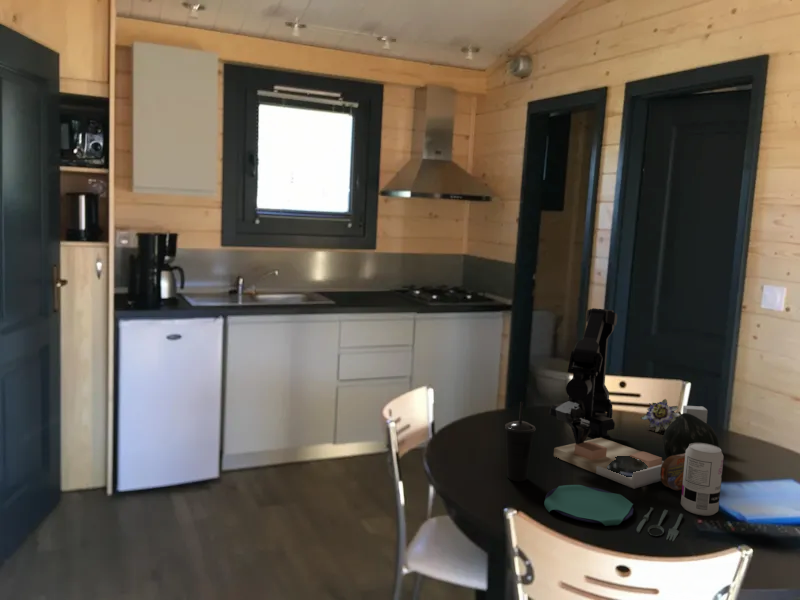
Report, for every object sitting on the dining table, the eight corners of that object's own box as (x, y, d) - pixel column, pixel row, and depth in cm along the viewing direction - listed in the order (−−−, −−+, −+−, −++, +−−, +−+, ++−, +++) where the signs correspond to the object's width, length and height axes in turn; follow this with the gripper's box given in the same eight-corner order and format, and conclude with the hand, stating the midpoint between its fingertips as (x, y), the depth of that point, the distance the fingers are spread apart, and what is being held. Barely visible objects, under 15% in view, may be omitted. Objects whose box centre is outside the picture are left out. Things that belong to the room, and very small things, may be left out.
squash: (729, 442, 203) (694, 398, 205) (728, 459, 190) (691, 413, 192) (686, 466, 209) (653, 424, 211) (682, 485, 196) (647, 440, 198)
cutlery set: (560, 486, 179) (561, 477, 179) (686, 518, 164) (687, 508, 164) (532, 514, 162) (533, 504, 162) (670, 552, 147) (672, 542, 147)
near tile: (574, 453, 197) (574, 444, 196) (588, 450, 200) (589, 441, 200) (591, 460, 192) (592, 451, 192) (606, 456, 195) (606, 447, 195)
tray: (596, 473, 189) (597, 458, 188) (643, 460, 200) (644, 447, 200) (634, 488, 179) (635, 473, 179) (681, 474, 191) (682, 460, 190)
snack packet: (666, 492, 178) (669, 459, 177) (656, 488, 181) (659, 455, 180) (707, 484, 185) (710, 452, 184) (697, 480, 188) (700, 448, 186)
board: (553, 456, 201) (554, 447, 201) (600, 445, 213) (601, 437, 212) (596, 473, 189) (596, 464, 189) (643, 460, 200) (643, 452, 200)
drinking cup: (534, 475, 186) (539, 400, 183) (529, 485, 179) (534, 407, 176) (505, 470, 188) (509, 396, 186) (499, 480, 181) (503, 403, 179)
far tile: (628, 463, 196) (629, 454, 196) (642, 460, 199) (643, 451, 199) (647, 470, 191) (648, 461, 191) (661, 466, 195) (662, 457, 194)
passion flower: (656, 448, 230) (635, 416, 230) (661, 433, 239) (642, 403, 239) (688, 435, 223) (666, 403, 224) (692, 421, 233) (672, 389, 233)
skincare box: (700, 444, 217) (703, 406, 216) (704, 449, 213) (708, 410, 212) (679, 443, 218) (683, 405, 216) (683, 447, 214) (687, 408, 212)
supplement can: (674, 502, 172) (679, 441, 170) (707, 502, 172) (713, 442, 171) (690, 516, 164) (696, 453, 162) (725, 516, 164) (731, 453, 162)
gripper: (537, 387, 200) (534, 441, 202) (590, 403, 185) (585, 462, 187) (565, 383, 207) (561, 435, 208) (618, 399, 191) (613, 455, 193)
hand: (579, 446), depth 199 cm, fingers closed
